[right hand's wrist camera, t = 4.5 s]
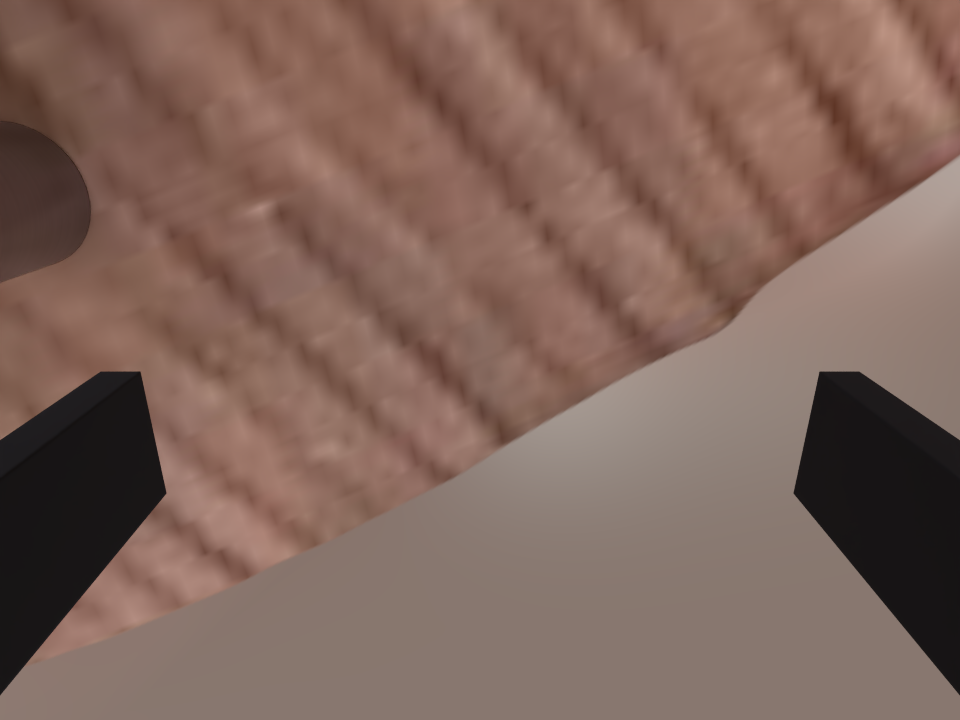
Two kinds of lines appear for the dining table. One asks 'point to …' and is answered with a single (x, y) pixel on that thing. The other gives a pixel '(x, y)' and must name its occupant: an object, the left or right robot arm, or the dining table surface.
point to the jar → (38, 202)
